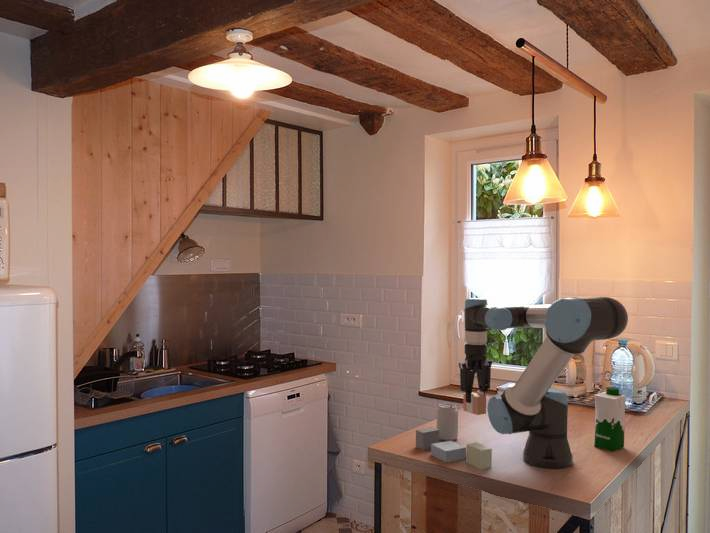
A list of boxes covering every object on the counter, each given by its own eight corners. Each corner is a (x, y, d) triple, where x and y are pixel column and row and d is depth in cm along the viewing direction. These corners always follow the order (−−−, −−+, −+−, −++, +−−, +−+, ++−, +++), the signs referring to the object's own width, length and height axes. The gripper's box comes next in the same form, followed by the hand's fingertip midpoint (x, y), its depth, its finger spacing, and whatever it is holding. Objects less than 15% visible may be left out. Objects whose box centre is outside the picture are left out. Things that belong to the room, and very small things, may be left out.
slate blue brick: (465, 459, 194) (466, 447, 194) (445, 463, 190) (445, 451, 190) (450, 452, 201) (451, 440, 201) (431, 456, 197) (431, 444, 197)
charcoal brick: (431, 444, 209) (432, 426, 209) (439, 447, 206) (439, 429, 206) (415, 447, 205) (415, 429, 205) (422, 450, 202) (423, 432, 202)
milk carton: (627, 447, 206) (628, 389, 206) (614, 453, 200) (615, 393, 200) (603, 441, 213) (604, 385, 212) (590, 446, 207) (590, 388, 206)
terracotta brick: (486, 413, 205) (486, 396, 205) (477, 415, 203) (477, 397, 203) (471, 409, 211) (472, 392, 211) (463, 410, 209) (463, 393, 209)
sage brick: (491, 467, 186) (491, 448, 186) (481, 470, 184) (482, 450, 184) (475, 460, 192) (476, 442, 192) (466, 463, 190) (466, 444, 190)
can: (457, 442, 211) (457, 408, 210) (435, 441, 212) (436, 407, 212) (458, 436, 218) (458, 403, 218) (437, 434, 220) (437, 402, 219)
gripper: (486, 340, 214) (486, 405, 215) (449, 343, 205) (449, 411, 206) (501, 342, 208) (501, 410, 208) (464, 346, 199) (463, 416, 199)
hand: (475, 410), depth 207 cm, fingers closed on terracotta brick, 4 cm apart
